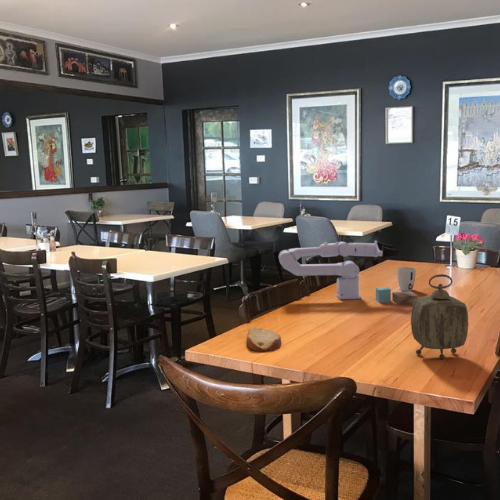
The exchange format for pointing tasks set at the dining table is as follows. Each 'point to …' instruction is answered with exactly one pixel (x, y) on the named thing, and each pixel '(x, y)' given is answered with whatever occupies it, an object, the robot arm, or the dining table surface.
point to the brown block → (404, 298)
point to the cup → (406, 278)
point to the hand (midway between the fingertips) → (395, 250)
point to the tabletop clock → (439, 320)
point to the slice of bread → (263, 340)
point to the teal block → (383, 294)
